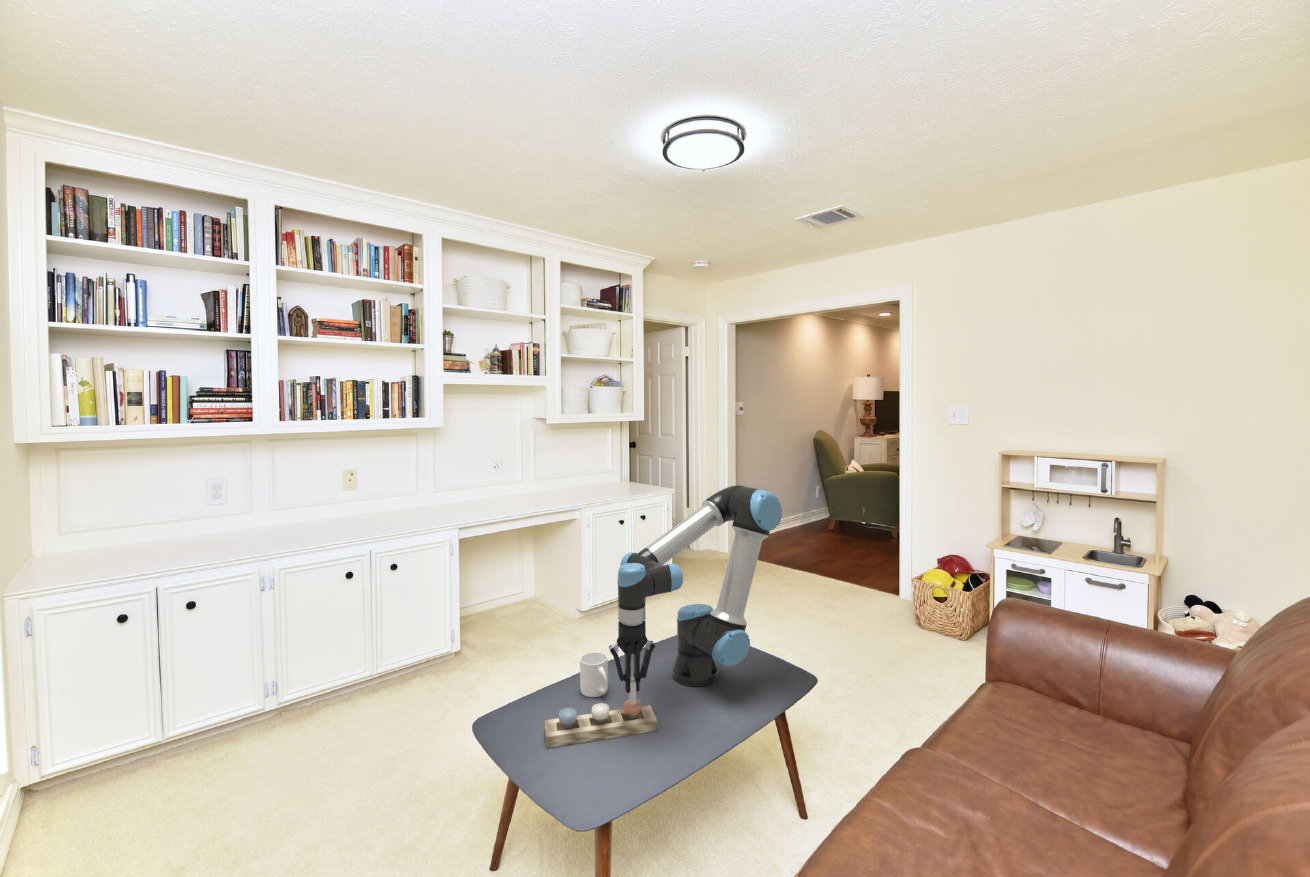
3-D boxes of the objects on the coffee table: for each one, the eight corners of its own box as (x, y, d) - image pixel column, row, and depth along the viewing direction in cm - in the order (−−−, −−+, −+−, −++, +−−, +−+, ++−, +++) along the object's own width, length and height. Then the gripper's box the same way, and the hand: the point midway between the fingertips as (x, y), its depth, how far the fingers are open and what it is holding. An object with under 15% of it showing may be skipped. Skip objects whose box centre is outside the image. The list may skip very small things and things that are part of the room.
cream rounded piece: (607, 717, 163) (607, 702, 163) (610, 727, 159) (610, 711, 158) (590, 719, 162) (590, 704, 162) (593, 729, 157) (593, 713, 157)
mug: (594, 706, 173) (593, 671, 172) (575, 689, 183) (575, 656, 182) (618, 697, 178) (618, 663, 177) (599, 681, 188) (598, 649, 187)
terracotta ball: (639, 712, 166) (639, 697, 165) (642, 722, 161) (642, 706, 161) (622, 715, 164) (622, 700, 164) (625, 724, 160) (625, 709, 159)
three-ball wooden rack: (650, 715, 168) (650, 705, 168) (657, 730, 160) (657, 720, 160) (544, 730, 161) (544, 720, 160) (546, 747, 153) (546, 737, 153)
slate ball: (575, 722, 161) (575, 706, 161) (577, 732, 156) (577, 716, 156) (558, 724, 160) (557, 709, 159) (559, 734, 155) (559, 718, 155)
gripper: (651, 613, 165) (651, 692, 167) (606, 617, 162) (607, 698, 164) (658, 623, 158) (658, 706, 160) (610, 628, 155) (611, 713, 157)
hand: (632, 702), depth 162 cm, fingers closed
